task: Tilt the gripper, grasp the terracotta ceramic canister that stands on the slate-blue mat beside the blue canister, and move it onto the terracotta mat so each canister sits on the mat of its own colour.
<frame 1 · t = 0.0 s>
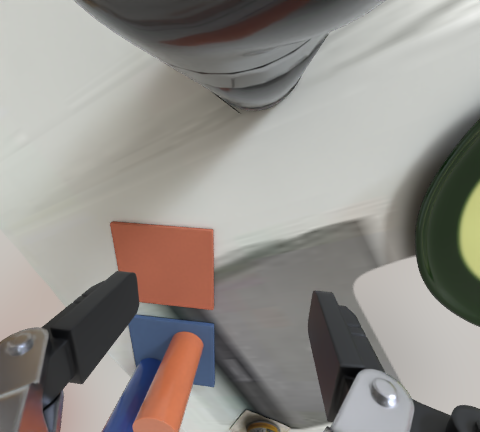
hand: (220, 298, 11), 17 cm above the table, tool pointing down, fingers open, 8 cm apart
blue canister: (153, 368, 38), point 1 cm above the table, touching blue mat
terracotta mat: (165, 266, 31), on the table
terracotta canister: (187, 343, 35), point 1 cm above the table, touching blue mat
condiment: (259, 426, 42), on the table
blue mat: (173, 350, 37), on the table
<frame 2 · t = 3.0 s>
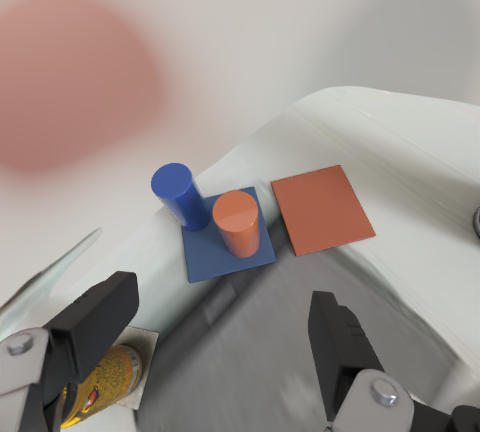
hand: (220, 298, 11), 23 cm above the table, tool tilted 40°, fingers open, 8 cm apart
blue canister: (195, 217, 38), point 1 cm above the table, touching blue mat
terracotta mat: (319, 208, 37), on the table
terracotta canister: (243, 241, 35), point 1 cm above the table, touching blue mat
condiment: (125, 362, 31), on the table
blue mat: (224, 232, 37), on the table
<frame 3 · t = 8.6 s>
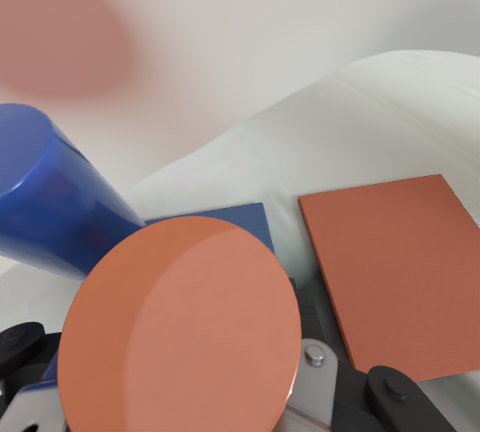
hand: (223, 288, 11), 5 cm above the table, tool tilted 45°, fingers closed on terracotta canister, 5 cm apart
blue canister: (129, 258, 17), point 1 cm above the table, touching blue mat
terracotta mat: (404, 263, 17), on the table
terracotta canister: (228, 333, 15), point 1 cm above the table, touching blue mat, gripper
blue mat: (188, 300, 16), on the table
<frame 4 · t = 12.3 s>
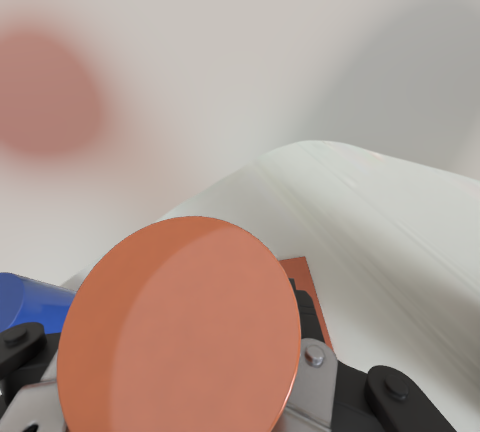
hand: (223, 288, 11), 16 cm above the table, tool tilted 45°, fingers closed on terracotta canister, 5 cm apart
blue canister: (86, 320, 26), point 1 cm above the table, touching blue mat
terracotta mat: (267, 324, 25), on the table
terracotta canister: (228, 334, 15), point 12 cm above the table, touching gripper
when the fingers open (5 cm above the table, at t = 16.2 s): terracotta canister stays where it is, resting on terracotta mat.
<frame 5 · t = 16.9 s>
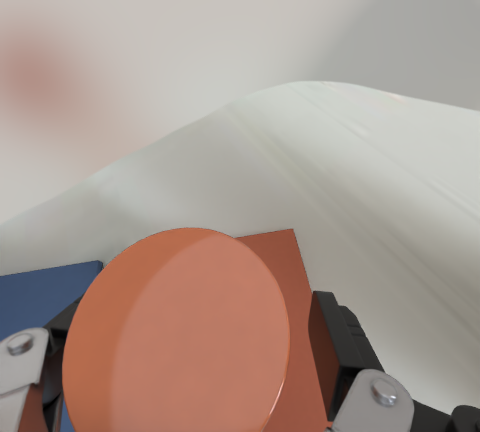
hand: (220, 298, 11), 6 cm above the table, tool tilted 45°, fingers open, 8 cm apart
terracotta mat: (228, 334, 15), on the table
terracotta canister: (225, 336, 15), point 1 cm above the table, touching terracotta mat
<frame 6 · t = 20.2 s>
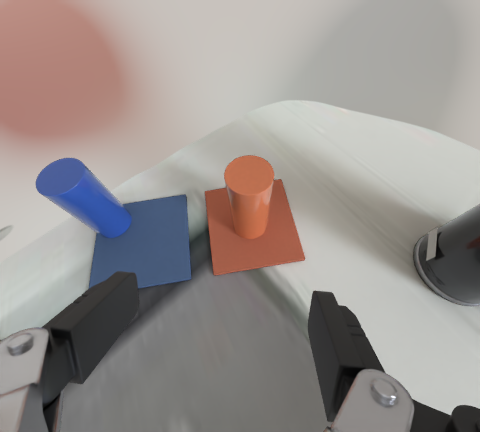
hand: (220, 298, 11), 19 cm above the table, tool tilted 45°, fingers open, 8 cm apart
blue canister: (114, 222, 34), point 1 cm above the table, touching blue mat
terracotta mat: (250, 223, 34), on the table
terracotta canister: (250, 222, 33), point 1 cm above the table, touching terracotta mat
blue mat: (143, 241, 33), on the table
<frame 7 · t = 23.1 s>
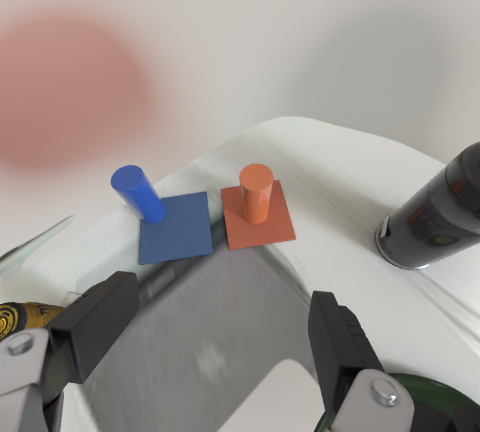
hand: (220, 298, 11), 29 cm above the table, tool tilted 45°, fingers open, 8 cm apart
blue canister: (153, 212, 45), point 1 cm above the table, touching blue mat
terracotta mat: (255, 213, 45), on the table
terracotta canister: (255, 212, 44), point 1 cm above the table, touching terracotta mat
condiment: (75, 324, 37), on the table
blue mat: (175, 226, 45), on the table
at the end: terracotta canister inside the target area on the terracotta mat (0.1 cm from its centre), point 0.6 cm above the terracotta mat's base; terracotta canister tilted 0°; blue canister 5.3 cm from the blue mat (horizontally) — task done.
